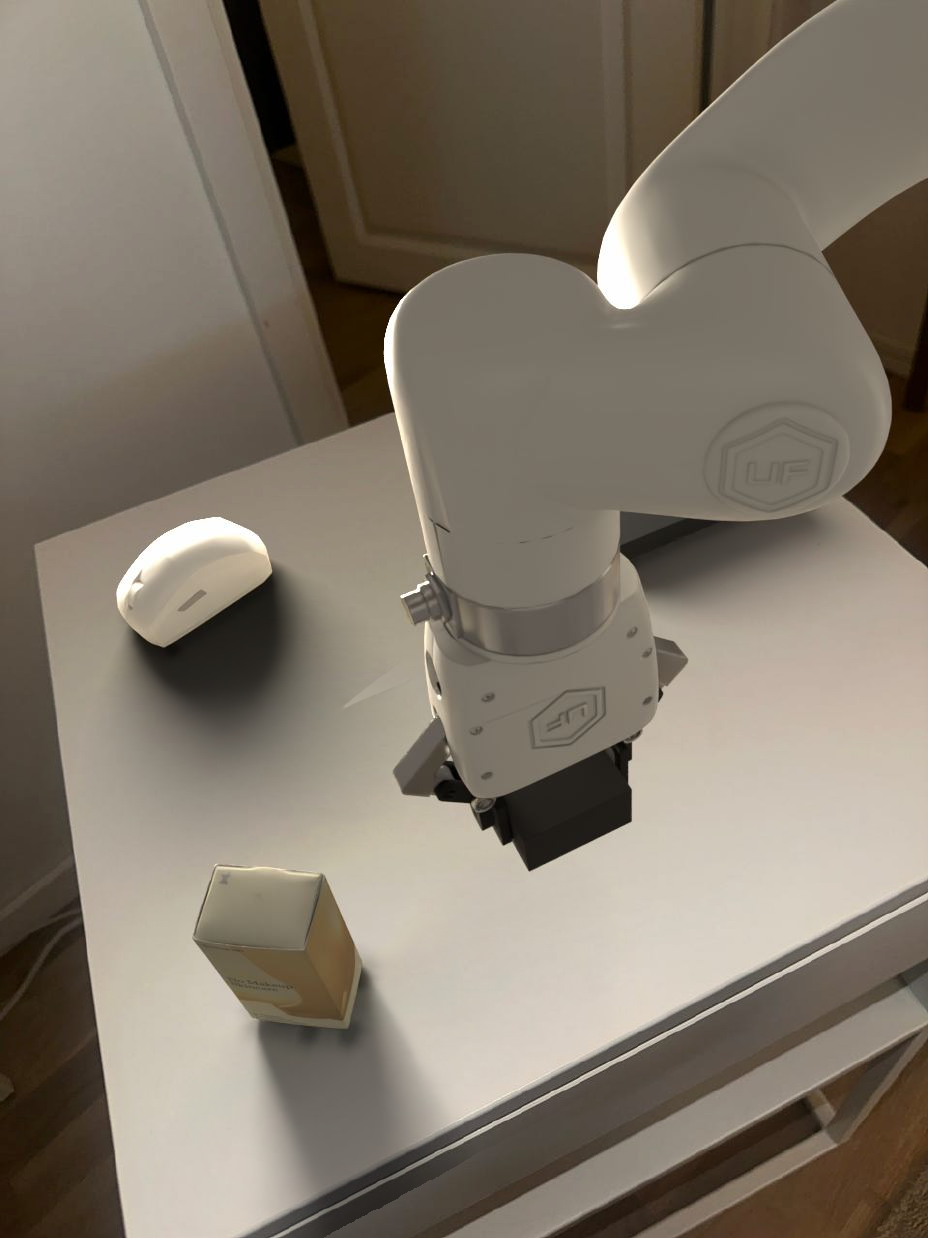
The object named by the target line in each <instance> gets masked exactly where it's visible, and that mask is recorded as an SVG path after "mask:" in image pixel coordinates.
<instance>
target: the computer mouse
mask: <svg viewBox="0 0 928 1238" xmlns="http://www.w3.org/2000/svg"><path fill="white" fill-rule="evenodd" d="M272 573H273V569H272V565H271V562H270V558H269V554H268V551H267V547H266V545H265V543H264V542H263V541H262V539H261V538H260V537H259V536H258V534H256V533H254V532H253V531H252V530H249V529H247V528H245V527H243V526H241V525H238V524H236V523H233V522H232V521H229V520H226V519H224V518H222V517H218V516H217V517H210V518H205V519H199V520H193V521H190V522H189V521H188V522H187V523H184V524H182V525H180V526H178V527H176V528H174V529H171V530H169V531H167V532H166V533H164V534H163V535H161V536H160V537H158V538H157V539H156V540H154V541H153V542H152V543H151V544H150V545H149V546H148V547H147V548H146V549H145V550H144V551H142V553H141V554H140V555H139V556H138V558H137V559H136V560H135V561H134V562H133V564H132V565H131V566H130V568H129V569H128V570H127V572H126V574H124V576H123V578H122V580H121V581H120V583H119V584H118V586H117V588H116V589H117V590H116V603H117V609H118V612H119V613H120V614H121V616H122V617H123V619H124V621H125V622H126V623H127V624H128V625H129V627H130V628H132V629H133V630H134V632H136V633H137V634H138V635H140V636H141V637H142V638H143V639H144V640H146V641H147V642H149V643H151V644H152V645H155V646H159V647H161V648H166V647H167V646H169V645H172V644H173V643H175V642H176V641H178V640H179V639H182V637H184V636H186V635H187V634H189V633H190V632H192V631H193V630H195V629H197V628H198V627H200V626H201V625H203V624H205V623H206V622H207V621H209V620H210V619H212V618H213V617H215V616H216V615H218V614H219V613H221V612H222V611H224V610H225V609H226V608H228V607H229V606H231V605H232V604H233V603H235V602H237V601H238V600H240V599H241V598H242V597H244V596H246V595H248V593H250V592H252V591H253V590H255V589H256V588H258V587H259V586H260V585H262V584H263V583H265V581H266V580H267V579H268V578H269V577H270V576H271V575H272Z"/></svg>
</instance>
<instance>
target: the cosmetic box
mask: <svg viewBox="0 0 928 1238" xmlns="http://www.w3.org/2000/svg"><path fill="white" fill-rule="evenodd" d="M191 938H192V940H193V942H194V943H195V944H196V945H197V946H198V948H199V950H200V951H201V952H202V953H203V954H204V956H205V957H206V958H207V960H208V961H209V963H210V964H211V965H212V966H213V968H214V969H215V970H216V972H217V974H218V975H219V976H220V977H221V978H222V980H223V981H224V983H225V984H226V985H227V987H228V988H229V989H230V990H231V991H232V993H233V994H234V996H235V997H236V998H237V1000H238V1002H240V1004H241V1005H242V1007H243V1008H244V1009H245V1010H246V1012H247V1013H248V1015H249V1016H250V1017H251V1018H252V1019H256V1020H262V1021H266V1022H267V1021H268V1022H274V1023H281V1024H287V1025H296V1026H307V1027H317V1028H328V1029H341V1030H347V1029H348V1028H349V1027H350V1022H351V1019H352V1018H351V1017H352V1014H353V1009H354V1005H355V1002H356V997H357V993H358V988H359V984H360V978H361V973H362V968H363V960H362V957H361V955H360V952H359V951H358V948H357V946H356V944H355V941H354V940H353V937H352V935H351V932H350V930H349V927H348V926H347V923H346V920H345V919H344V917H343V914H342V912H341V909H340V907H339V905H338V903H337V900H336V897H335V896H334V894H333V892H332V888H331V887H330V884H329V882H328V879H327V877H326V875H325V874H324V873H323V872H316V871H307V870H298V869H297V870H295V869H286V868H275V867H267V866H251V865H249V866H248V865H240V864H239V865H237V864H224V863H216V864H214V867H213V870H212V872H211V876H210V879H209V880H208V885H207V887H206V890H205V893H204V896H203V899H202V902H201V905H200V909H199V911H198V914H197V918H196V921H195V926H194V929H193V932H192V937H191Z"/></svg>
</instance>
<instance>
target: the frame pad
mask: <svg viewBox="0 0 928 1238" xmlns="http://www.w3.org/2000/svg"><path fill="white" fill-rule="evenodd" d="M719 522H721V521H720V520H706V519H695V518H685V517H676V516H666V515H657V514H646V513H636V512H626V511H620V553H621V554H623V555H624V556H625V557H626V558H627V559H628V560H631V559H632V558H635V557H637V556H640V555H642V554H645V553H647V552H650V551H652V550H654V549H657V548H659V547H661V546H664V545H667V544H669V543H671V542H673V541H676V540H678V539H681V538H683V537H685V536H688V535H690V534H693V533H695V532H698V531H700V530H702V529H704V528H707V527H709V526H712V525H715V524H717V523H719Z"/></svg>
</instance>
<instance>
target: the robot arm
mask: <svg viewBox="0 0 928 1238" xmlns="http://www.w3.org/2000/svg"><path fill="white" fill-rule="evenodd" d="M926 179H928V0H834V2H832V3H831V4H829V5H828V6H826V7H824V8H823V9H822V10H820V11H819V12H817V13H816V14H814V15H813V16H811V17H809V19H807V20H806V21H804V22H802V24H801V25H799V26H798V27H796V28H795V29H794V30H793V31H792V32H790V33H789V34H787V36H785V37H784V38H783V39H781V40H780V41H779V42H778V43H776V44H775V45H774V46H773V47H771V48H770V49H769V50H768V51H767V52H766V53H765V54H764V55H762V56H761V57H760V58H759V59H758V60H756V62H754V63H753V65H751V66H750V67H749V68H748V69H747V70H746V71H745V72H744V73H742V74H741V75H740V76H739V77H738V78H737V79H736V80H735V81H734V82H732V84H731V85H730V86H729V87H728V88H726V89H725V90H724V91H723V92H722V93H721V94H720V95H719V96H718V97H717V98H716V99H715V100H714V101H713V102H711V104H709V106H708V107H706V108H705V109H704V110H702V112H701V113H700V114H699V115H697V117H695V119H694V120H692V121H691V122H690V123H689V124H688V125H687V126H686V127H685V128H684V129H683V130H682V131H681V132H680V133H679V134H678V135H677V136H676V137H675V138H674V139H673V140H672V141H671V142H670V143H669V144H668V145H667V146H666V147H665V148H664V149H663V150H662V151H661V152H660V153H659V154H658V155H657V156H656V158H654V159H653V161H651V163H650V164H649V165H648V167H647V168H646V169H645V170H644V171H643V172H642V173H641V174H640V176H639V177H638V178H637V179H636V181H635V182H634V183H633V184H632V186H630V187H631V188H630V189H629V190H628V192H627V193H626V195H625V196H624V198H623V199H622V200H621V202H620V203H619V205H618V206H617V208H616V210H615V211H614V214H613V215H612V217H611V219H610V222H609V224H608V226H607V228H606V231H605V233H604V236H603V238H602V243H601V247H600V252H599V257H598V262H597V283H596V282H595V281H594V280H593V279H592V278H591V277H590V276H589V275H588V274H586V273H585V272H584V271H583V270H580V269H578V268H577V267H576V266H573V265H571V264H569V263H567V262H563V261H561V260H559V259H555V258H553V257H550V256H544V255H540V254H535V253H534V254H532V253H525V252H522V253H520V252H507V253H506V252H505V253H494V254H493V253H492V254H487V255H481V256H475V257H472V258H469V259H465V260H461V261H458V262H455V263H453V264H449V265H448V266H445V267H443V268H441V269H439V270H437V271H435V272H433V273H432V274H430V275H429V276H427V277H425V278H424V279H422V280H421V281H420V282H419V283H418V284H416V285H415V286H414V287H413V288H411V289H409V291H408V292H407V293H406V294H405V295H404V296H403V298H402V299H401V300H400V301H399V303H398V304H397V306H396V308H395V310H394V311H393V313H392V315H391V317H390V318H389V322H388V325H387V328H386V332H385V337H384V350H383V355H384V356H383V357H384V365H385V371H386V375H387V376H386V377H387V383H388V387H389V391H390V396H391V400H392V404H393V409H394V412H395V417H396V421H397V426H398V430H399V435H400V439H401V443H402V448H403V451H404V456H405V460H406V465H407V470H408V473H409V478H410V482H411V486H412V487H411V488H412V491H413V494H414V499H415V503H416V507H417V512H418V518H419V522H420V526H421V530H422V535H423V540H424V544H425V549H426V554H423V556H422V557H423V561H424V565H425V569H426V574H424V577H423V581H422V583H420V584H417V585H416V587H415V588H416V589H414V590H412V591H409V592H407V593H405V594H404V593H403V594H402V595H400V602H401V605H402V607H403V609H404V612H405V614H406V617H407V619H408V621H409V623H410V624H411V626H412V627H413V628H415V627H417V626H420V625H421V624H424V641H423V642H424V643H423V644H424V646H423V647H424V652H423V653H424V667H425V668H424V669H425V677H426V684H427V693H428V700H429V706H430V710H431V715H432V719H431V720H430V722H429V723H428V724H427V725H426V727H425V728H424V729H423V730H422V732H421V733H420V735H419V736H418V737H417V738H416V740H415V741H414V742H413V744H412V745H411V746H410V747H409V748H408V750H407V751H406V753H404V755H403V756H402V758H401V759H400V760H399V761H398V762H397V764H396V765H395V766H394V768H393V769H392V776H393V778H394V779H395V782H396V784H397V786H398V788H399V790H400V792H401V794H402V795H404V796H412V797H422V798H430V797H431V796H436V798H437V800H438V801H439V802H442V803H443V802H444V803H458V804H468V805H469V807H470V809H471V812H472V814H473V817H474V818H475V821H476V822H477V825H478V826H479V828H480V830H481V831H482V832H483V831H486V830H489V829H490V828H492V829H493V831H494V833H495V835H496V836H497V839H498V840H499V842H500V843H501V846H502V847H505V846H506V845H509V844H511V843H513V842H512V839H513V833H512V828H511V822H510V817H509V816H510V812H509V807H508V804H507V802H506V800H505V798H504V796H503V795H506V794H509V793H511V792H514V791H516V790H518V789H521V788H523V787H525V786H527V785H530V784H532V783H534V782H536V781H538V780H540V779H543V778H545V777H547V776H549V775H551V774H553V773H556V772H558V771H560V770H562V769H564V768H566V767H568V766H571V765H573V764H575V763H577V762H579V761H581V760H583V759H585V758H588V757H590V756H592V755H594V754H596V753H598V752H600V751H602V750H605V751H606V753H607V754H608V756H609V757H610V759H611V760H612V761H613V763H614V764H615V766H617V768H618V769H619V771H620V772H621V774H622V775H623V777H624V778H625V780H626V781H627V783H628V784H629V762H631V761H632V760H633V742H635V741H637V740H638V739H639V738H640V737H641V736H642V734H643V731H644V728H646V726H647V725H649V723H651V721H652V720H653V719H654V717H655V715H656V712H657V709H658V707H659V706H658V705H659V703H660V702H661V700H662V698H663V696H664V691H663V690H662V689H664V688H665V687H668V686H670V685H671V683H672V682H673V681H674V680H675V678H677V676H678V675H679V674H680V673H681V672H682V671H683V670H684V668H686V666H687V665H688V664H689V658H688V656H687V655H686V654H685V653H684V652H683V650H682V649H681V648H680V646H679V645H678V644H677V643H676V642H675V641H673V640H671V639H667V638H662V637H660V636H656V635H654V631H653V625H652V620H651V616H650V612H649V611H650V610H649V606H648V603H647V598H646V596H645V595H646V594H645V592H644V589H643V584H642V581H641V578H640V576H639V573H638V571H637V569H636V567H635V565H634V564H633V563H632V562H631V560H630V559H627V558H626V557H625V556H624V555H623V554H621V553H620V511H626V512H636V513H646V514H657V515H666V516H676V517H685V518H695V519H706V520H720V521H719V522H725V521H726V522H755V521H769V520H779V519H784V518H789V517H792V516H797V515H800V514H805V513H807V512H811V511H814V510H817V509H819V508H822V507H824V506H826V505H828V504H830V503H832V502H834V501H836V500H838V499H839V498H840V497H842V496H844V495H845V494H847V493H848V492H850V491H851V490H852V489H853V488H854V487H855V486H857V485H858V484H859V483H860V482H862V480H864V479H865V478H866V476H867V475H868V474H869V473H870V472H871V471H872V469H873V468H874V467H875V465H876V463H877V462H878V461H879V458H880V457H881V455H882V454H883V451H884V449H885V447H886V444H887V441H888V438H889V433H890V430H891V425H892V417H893V416H892V415H893V407H892V406H893V403H892V393H891V389H890V388H891V387H890V383H889V380H888V376H887V374H886V372H885V368H884V366H883V363H882V360H881V358H880V355H879V354H878V352H877V350H876V348H875V346H874V344H873V342H872V339H871V338H870V336H869V335H868V333H867V331H866V330H865V328H864V326H863V324H862V322H861V320H860V319H859V317H858V315H857V314H856V312H855V310H854V308H853V307H852V305H851V304H850V301H849V299H848V298H847V296H846V294H845V292H844V291H843V289H842V287H841V285H840V283H839V282H838V280H837V277H836V276H835V274H834V272H833V270H832V269H831V267H830V265H829V263H828V261H827V260H826V257H825V256H824V254H823V253H822V251H824V250H825V249H826V248H828V247H829V246H830V245H831V244H832V243H834V242H835V241H836V240H837V239H839V238H840V237H841V236H842V235H844V234H845V233H846V232H848V231H849V230H850V229H851V228H853V227H854V226H856V225H857V224H858V223H859V222H860V221H862V220H863V219H865V217H867V216H868V215H870V214H871V213H872V212H874V211H875V210H876V209H878V208H880V207H881V206H883V205H884V204H885V203H887V202H888V201H890V200H891V199H893V198H894V197H897V196H898V195H900V194H901V193H903V192H905V191H906V190H908V189H910V188H912V187H913V186H915V185H917V184H919V183H920V182H923V181H924V180H926ZM450 757H451V760H448V759H449V758H450Z"/></svg>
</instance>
